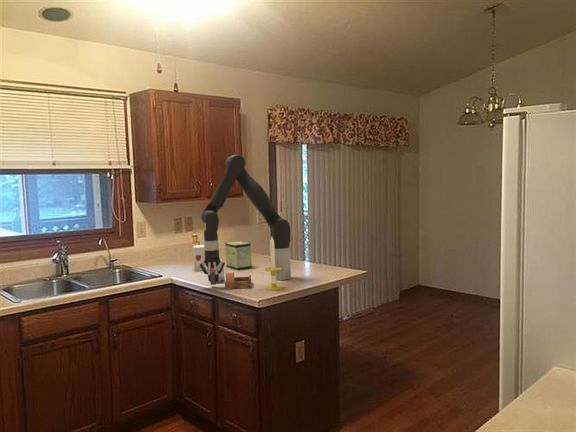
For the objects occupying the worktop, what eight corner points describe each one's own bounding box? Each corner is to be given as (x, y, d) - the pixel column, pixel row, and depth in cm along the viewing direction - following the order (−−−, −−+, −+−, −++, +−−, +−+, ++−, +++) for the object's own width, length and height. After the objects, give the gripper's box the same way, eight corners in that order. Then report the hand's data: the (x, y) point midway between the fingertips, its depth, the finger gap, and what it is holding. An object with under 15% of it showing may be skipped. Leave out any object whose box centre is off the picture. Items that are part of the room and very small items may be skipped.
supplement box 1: (194, 271, 305) (193, 247, 303) (194, 268, 313) (192, 245, 312) (209, 270, 306) (208, 246, 305) (208, 267, 315) (207, 244, 314)
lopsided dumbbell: (234, 282, 263) (233, 270, 263) (233, 284, 258) (233, 272, 258) (211, 283, 263) (211, 271, 262) (210, 285, 258) (210, 273, 257)
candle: (287, 287, 253) (285, 235, 250) (271, 291, 247) (268, 237, 245) (276, 284, 261) (274, 233, 258) (260, 287, 255) (258, 235, 253)
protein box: (240, 264, 321) (239, 240, 320) (252, 268, 308) (251, 243, 307) (225, 267, 315) (224, 242, 314) (237, 270, 302) (236, 245, 301)
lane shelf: (251, 282, 267) (250, 274, 267) (250, 288, 255) (250, 279, 255) (227, 284, 267) (226, 275, 266) (225, 289, 255) (224, 280, 254)
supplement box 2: (217, 279, 280) (216, 259, 279) (224, 280, 276) (223, 260, 275) (209, 281, 275) (208, 260, 274) (217, 282, 271) (216, 261, 270)
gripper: (225, 247, 263) (227, 279, 264) (199, 248, 262) (201, 280, 264) (224, 249, 255) (226, 282, 257) (197, 250, 255) (199, 283, 256)
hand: (213, 281), depth 260 cm, fingers closed on lopsided dumbbell, 2 cm apart
